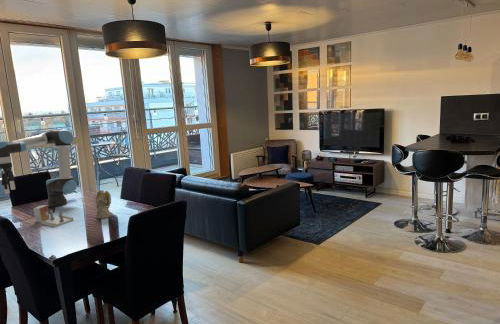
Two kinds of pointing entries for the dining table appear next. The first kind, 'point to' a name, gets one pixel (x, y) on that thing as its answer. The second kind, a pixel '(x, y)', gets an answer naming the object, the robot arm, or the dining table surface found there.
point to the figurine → (103, 204)
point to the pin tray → (57, 220)
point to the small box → (41, 213)
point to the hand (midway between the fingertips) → (10, 191)
